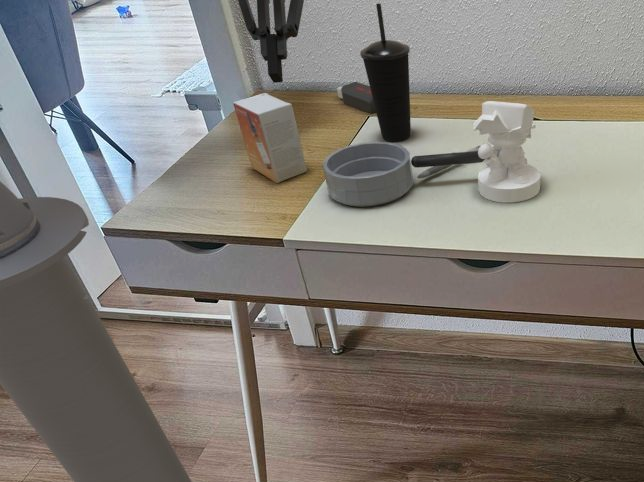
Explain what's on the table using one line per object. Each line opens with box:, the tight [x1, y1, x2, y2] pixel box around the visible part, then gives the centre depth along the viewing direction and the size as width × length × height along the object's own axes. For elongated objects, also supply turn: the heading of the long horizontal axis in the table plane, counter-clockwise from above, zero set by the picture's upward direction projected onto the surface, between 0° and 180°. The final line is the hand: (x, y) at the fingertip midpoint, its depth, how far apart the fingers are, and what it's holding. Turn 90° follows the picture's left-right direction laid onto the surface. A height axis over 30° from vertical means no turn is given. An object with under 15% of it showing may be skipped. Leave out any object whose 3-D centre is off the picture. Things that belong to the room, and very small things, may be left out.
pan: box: [322, 141, 414, 208], centre depth 89 cm, size 12×12×4 cm
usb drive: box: [336, 81, 376, 114], centre depth 118 cm, size 5×12×3 cm, turn 43°
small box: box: [232, 92, 308, 184], centre depth 94 cm, size 8×6×10 cm
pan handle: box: [410, 151, 485, 169], centre depth 89 cm, size 11×2×2 cm, turn 93°
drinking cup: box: [359, 2, 412, 143], centre depth 99 cm, size 8×8×20 cm
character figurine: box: [472, 100, 541, 204], centre depth 85 cm, size 9×10×12 cm
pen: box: [416, 144, 482, 180], centre depth 94 cm, size 1×14×1 cm, turn 135°
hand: (275, 78), depth 99 cm, fingers closed
